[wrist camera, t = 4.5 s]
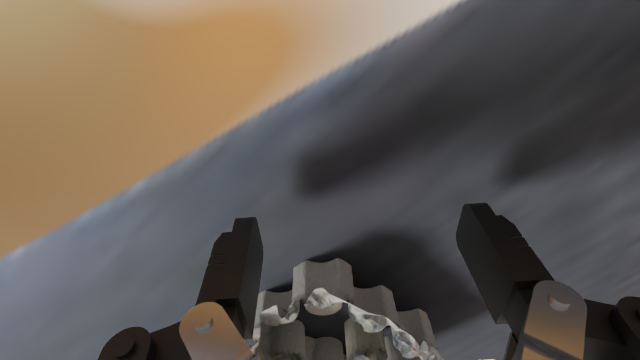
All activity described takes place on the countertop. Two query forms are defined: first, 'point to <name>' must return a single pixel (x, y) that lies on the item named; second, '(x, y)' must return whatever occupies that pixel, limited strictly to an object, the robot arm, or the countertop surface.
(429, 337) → the grey irregular chunky piece
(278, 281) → the countertop surface
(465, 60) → the countertop surface
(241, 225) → the robot arm
